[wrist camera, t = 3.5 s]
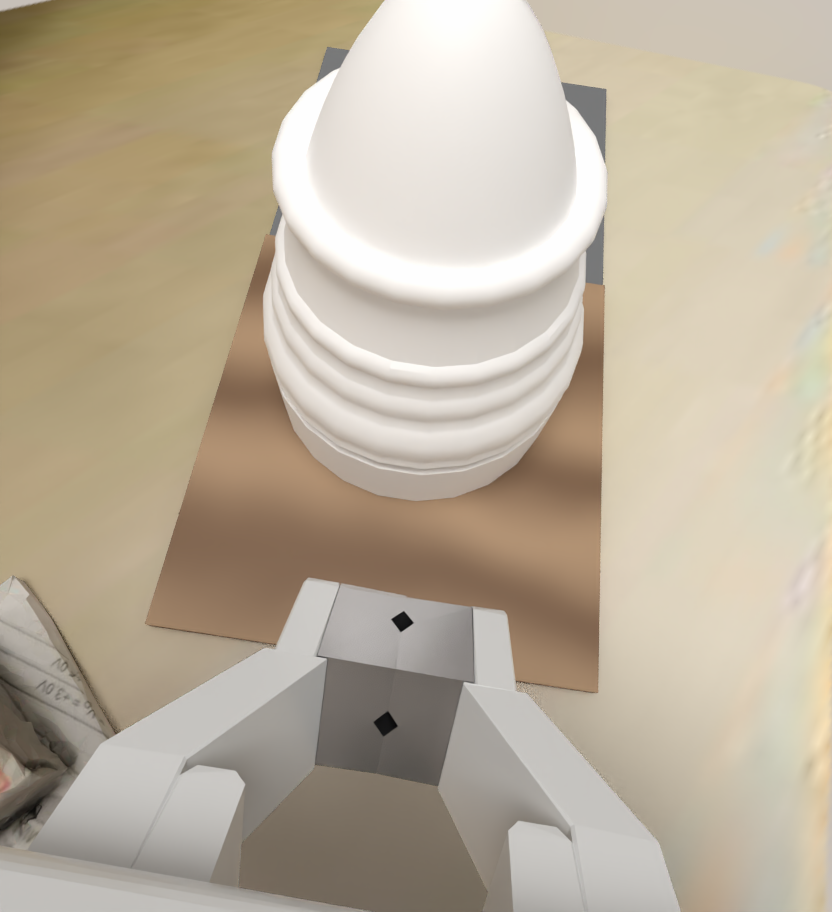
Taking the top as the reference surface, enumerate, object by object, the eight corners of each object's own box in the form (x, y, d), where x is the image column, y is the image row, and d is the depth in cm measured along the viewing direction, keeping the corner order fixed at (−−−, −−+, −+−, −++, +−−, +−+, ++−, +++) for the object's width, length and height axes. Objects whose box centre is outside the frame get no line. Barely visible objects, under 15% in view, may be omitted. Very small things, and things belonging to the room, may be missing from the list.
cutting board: (592, 692, 23) (597, 692, 23) (150, 625, 23) (144, 623, 23) (600, 292, 31) (604, 285, 30) (268, 242, 31) (265, 234, 30)
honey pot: (418, 226, 31) (465, -306, 15) (603, 380, 28) (926, -71, 12) (224, 365, 27) (-14, -151, 11) (415, 561, 24) (498, 268, 8)
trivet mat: (601, 292, 31) (602, 290, 31) (268, 242, 31) (268, 239, 31) (605, 92, 37) (606, 89, 37) (327, 50, 37) (327, 46, 37)
